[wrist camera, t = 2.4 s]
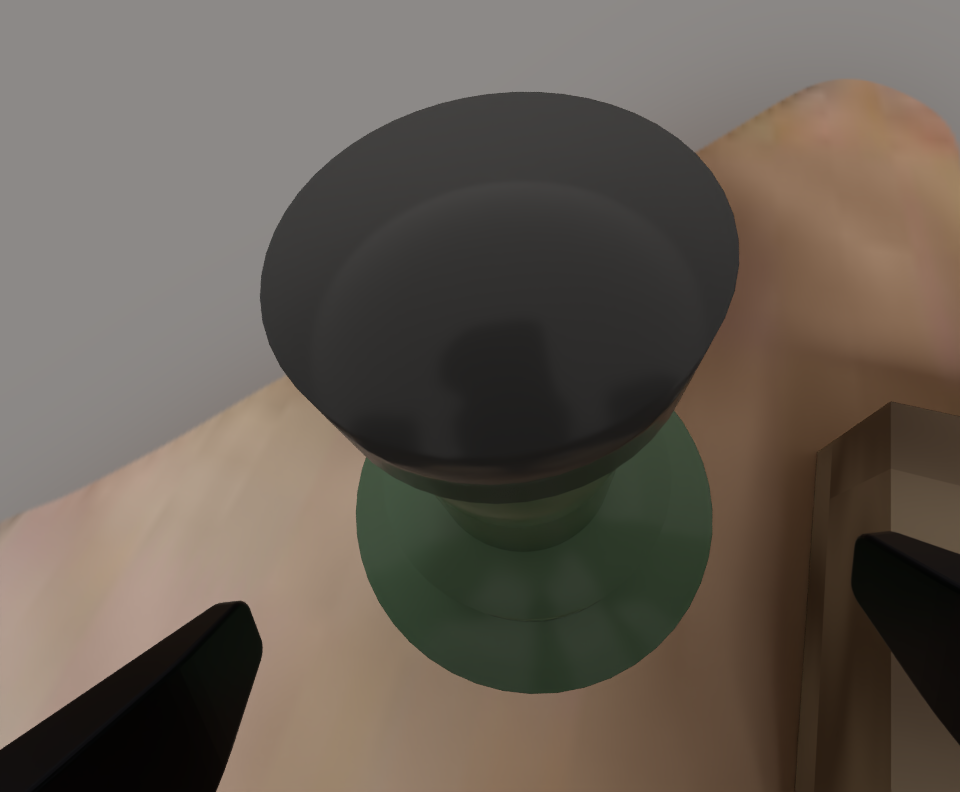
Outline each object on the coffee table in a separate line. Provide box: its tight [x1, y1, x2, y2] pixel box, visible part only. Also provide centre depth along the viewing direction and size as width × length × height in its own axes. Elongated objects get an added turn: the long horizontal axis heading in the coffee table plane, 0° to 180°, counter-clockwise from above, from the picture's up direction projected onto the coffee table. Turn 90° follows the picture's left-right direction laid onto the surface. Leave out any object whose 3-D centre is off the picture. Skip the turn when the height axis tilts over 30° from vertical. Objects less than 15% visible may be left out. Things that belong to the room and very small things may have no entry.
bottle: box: [260, 92, 739, 694], centre depth 9 cm, size 5×5×15 cm
